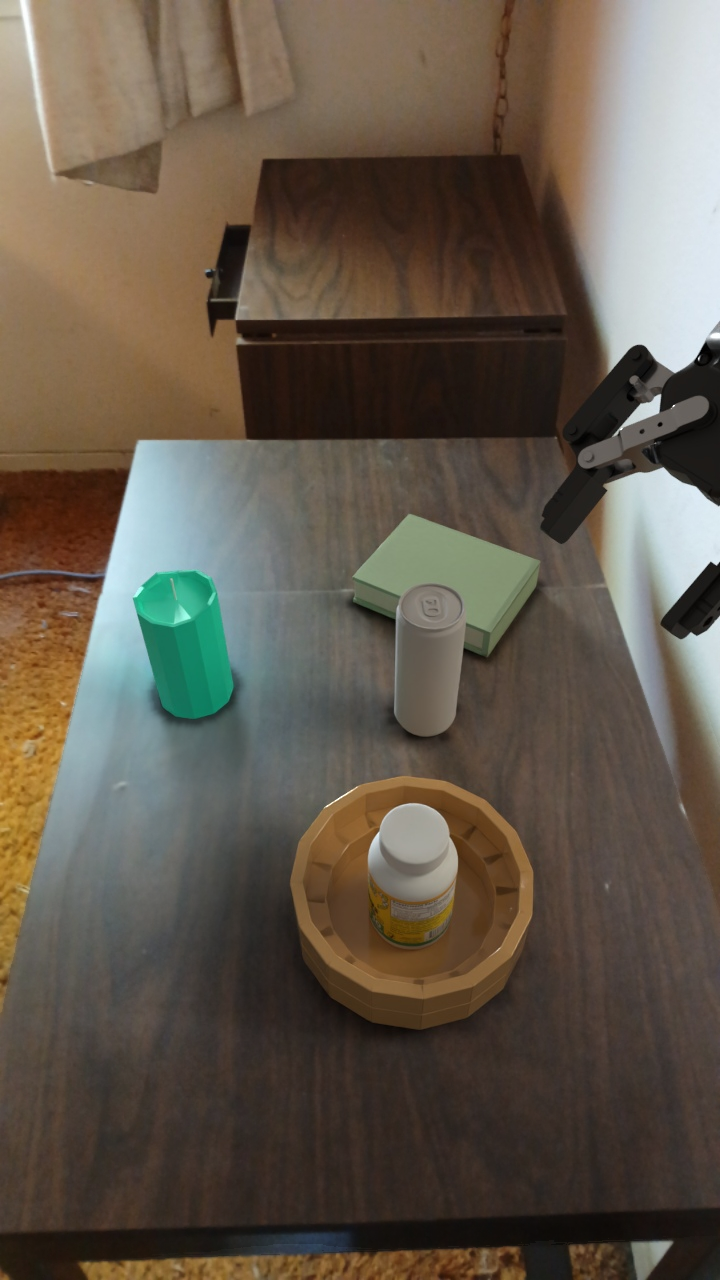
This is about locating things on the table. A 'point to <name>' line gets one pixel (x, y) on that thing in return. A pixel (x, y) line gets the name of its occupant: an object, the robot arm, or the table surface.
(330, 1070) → the table surface
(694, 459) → the robot arm
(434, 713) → the beverage can
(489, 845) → the bowl
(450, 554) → the book
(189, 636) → the candle
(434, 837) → the supplement bottle
